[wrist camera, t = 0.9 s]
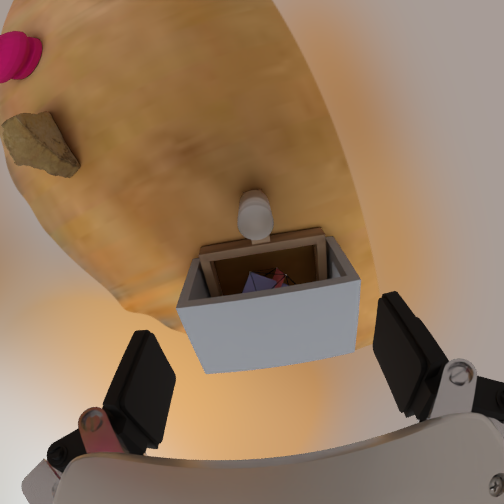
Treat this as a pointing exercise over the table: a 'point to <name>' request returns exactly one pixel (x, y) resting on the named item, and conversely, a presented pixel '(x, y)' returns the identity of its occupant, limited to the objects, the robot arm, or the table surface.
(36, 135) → the rock
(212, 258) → the brown open frame
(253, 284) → the geometric puzzle
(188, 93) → the table surface
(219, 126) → the table surface
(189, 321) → the open box
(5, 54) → the pepper mill
